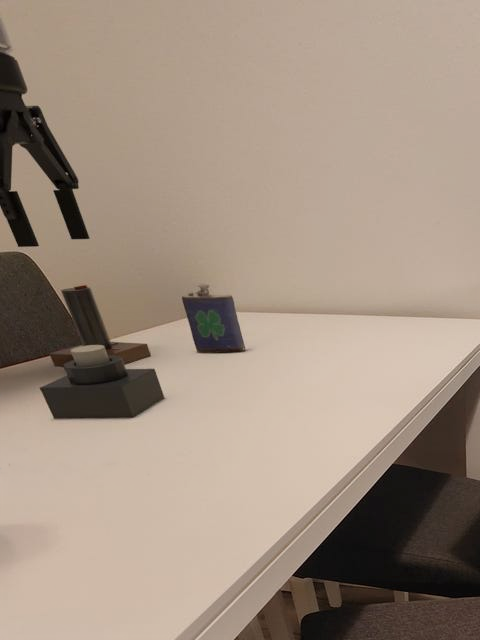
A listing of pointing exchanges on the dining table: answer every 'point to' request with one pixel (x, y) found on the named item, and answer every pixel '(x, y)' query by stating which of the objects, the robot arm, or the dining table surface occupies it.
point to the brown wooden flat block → (120, 349)
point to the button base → (102, 391)
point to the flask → (213, 321)
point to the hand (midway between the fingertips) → (56, 243)
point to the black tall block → (86, 316)
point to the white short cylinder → (90, 355)
